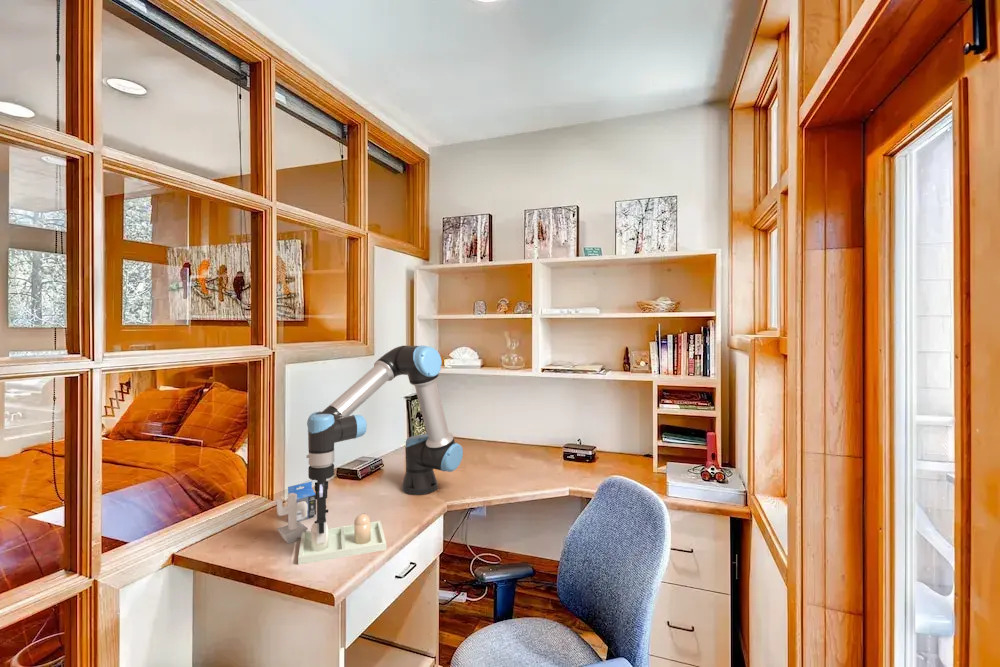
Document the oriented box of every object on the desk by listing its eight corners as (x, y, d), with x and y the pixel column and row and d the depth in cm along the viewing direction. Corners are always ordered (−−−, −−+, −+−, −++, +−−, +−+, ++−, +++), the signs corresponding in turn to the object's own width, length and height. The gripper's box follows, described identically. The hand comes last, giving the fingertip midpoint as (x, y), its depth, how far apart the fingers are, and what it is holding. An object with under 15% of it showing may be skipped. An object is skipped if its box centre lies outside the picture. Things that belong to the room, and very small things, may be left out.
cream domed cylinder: (328, 542, 147) (328, 516, 147) (328, 549, 142) (327, 522, 142) (311, 545, 145) (311, 518, 145) (310, 552, 140) (310, 525, 140)
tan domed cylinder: (370, 536, 151) (369, 510, 151) (371, 542, 147) (370, 516, 147) (354, 538, 150) (353, 512, 150) (354, 545, 145) (354, 518, 145)
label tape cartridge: (291, 523, 164) (291, 489, 164) (287, 520, 167) (287, 487, 167) (316, 516, 170) (316, 483, 170) (312, 513, 173) (311, 481, 173)
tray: (380, 529, 159) (380, 520, 159) (386, 552, 142) (386, 543, 142) (302, 541, 150) (301, 532, 150) (298, 568, 133) (298, 557, 133)
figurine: (311, 538, 153) (310, 493, 153) (281, 547, 146) (281, 500, 146) (302, 531, 158) (302, 487, 158) (273, 540, 151) (273, 495, 151)
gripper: (309, 458, 151) (310, 528, 151) (306, 474, 134) (307, 553, 134) (333, 456, 154) (334, 525, 154) (334, 471, 137) (334, 549, 137)
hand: (321, 538), depth 144 cm, fingers closed on cream domed cylinder, 5 cm apart
